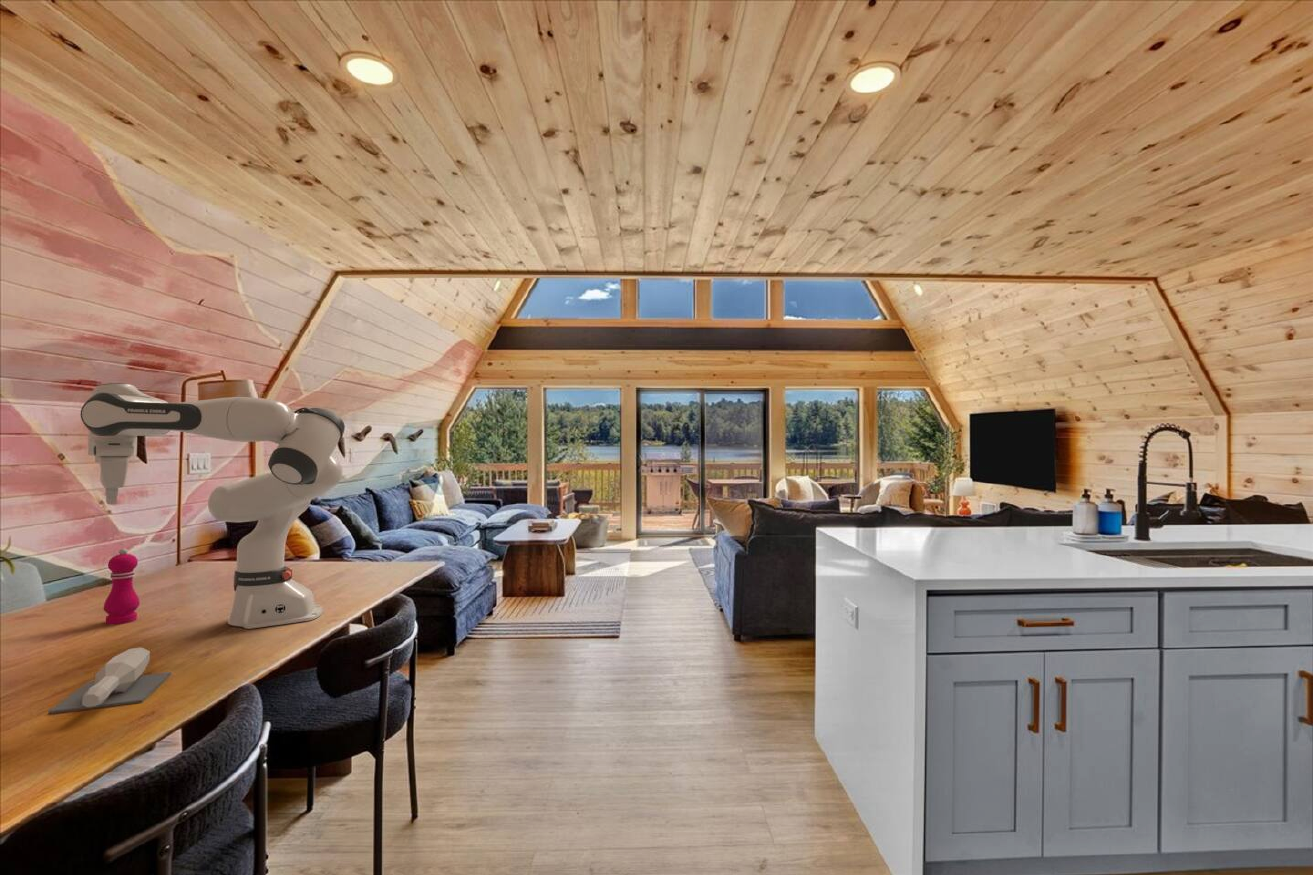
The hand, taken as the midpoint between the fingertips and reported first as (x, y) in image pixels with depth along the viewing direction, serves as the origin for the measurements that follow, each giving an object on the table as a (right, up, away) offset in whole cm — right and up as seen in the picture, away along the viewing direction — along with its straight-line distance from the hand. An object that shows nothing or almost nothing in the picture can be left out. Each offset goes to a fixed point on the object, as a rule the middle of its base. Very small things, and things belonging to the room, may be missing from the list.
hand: (111, 503), depth 141 cm
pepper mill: (-11, -34, +15) cm, 39 cm away
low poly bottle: (+24, -31, -19) cm, 44 cm away
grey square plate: (+28, -34, -28) cm, 53 cm away
